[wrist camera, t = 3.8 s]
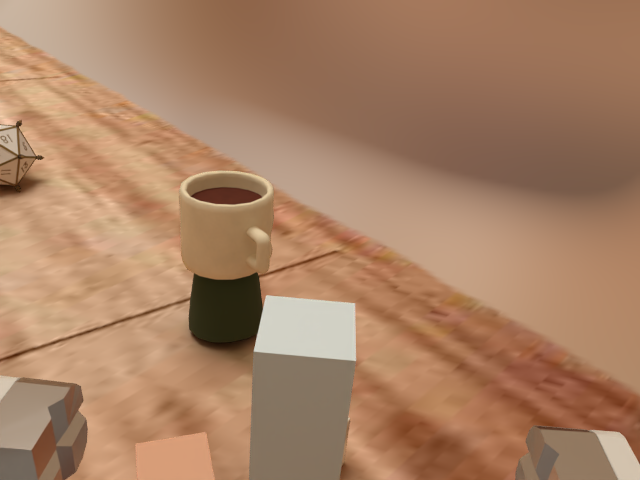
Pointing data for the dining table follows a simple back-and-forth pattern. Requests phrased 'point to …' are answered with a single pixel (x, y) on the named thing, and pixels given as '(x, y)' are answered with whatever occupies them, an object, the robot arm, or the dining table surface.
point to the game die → (14, 155)
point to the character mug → (226, 251)
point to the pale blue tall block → (301, 389)
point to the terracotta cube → (175, 459)
